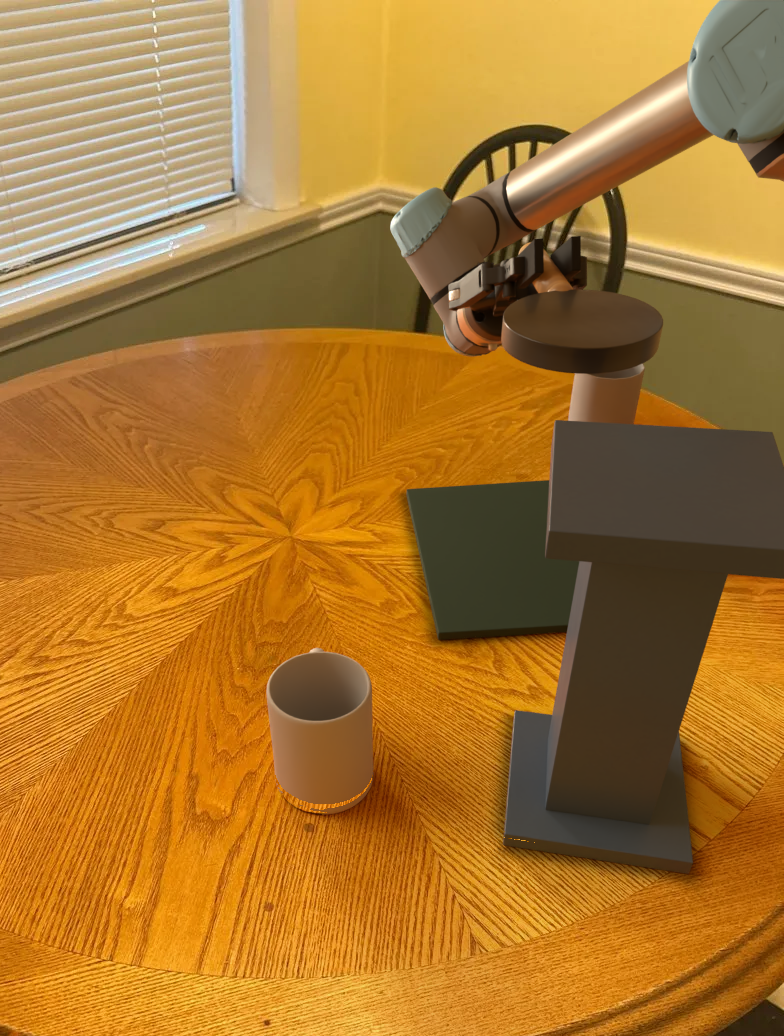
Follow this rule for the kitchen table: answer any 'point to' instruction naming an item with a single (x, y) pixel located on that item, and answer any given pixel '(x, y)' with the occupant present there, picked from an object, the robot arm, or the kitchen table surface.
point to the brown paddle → (579, 327)
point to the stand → (637, 628)
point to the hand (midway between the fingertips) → (557, 254)
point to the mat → (490, 560)
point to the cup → (606, 396)
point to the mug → (322, 728)
